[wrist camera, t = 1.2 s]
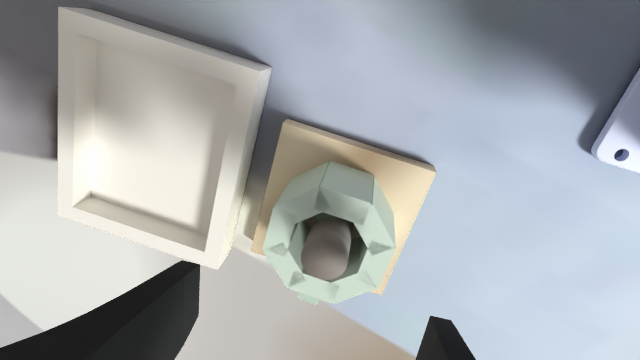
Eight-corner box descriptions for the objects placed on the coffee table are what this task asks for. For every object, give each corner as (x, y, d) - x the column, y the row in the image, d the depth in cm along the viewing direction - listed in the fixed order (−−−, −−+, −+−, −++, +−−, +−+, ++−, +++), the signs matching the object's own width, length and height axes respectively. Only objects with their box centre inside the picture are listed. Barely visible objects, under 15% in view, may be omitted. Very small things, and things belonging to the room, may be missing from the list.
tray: (272, 67, 17) (259, 71, 15) (230, 250, 21) (217, 270, 19) (90, 8, 17) (58, 6, 15) (83, 200, 21) (57, 215, 19)
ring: (405, 185, 17) (409, 215, 14) (361, 292, 19) (357, 335, 17) (298, 150, 17) (282, 173, 14) (268, 260, 20) (248, 298, 17)
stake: (434, 166, 17) (450, 211, 13) (381, 285, 20) (380, 354, 16) (287, 118, 17) (256, 147, 13) (255, 242, 20) (221, 299, 16)
